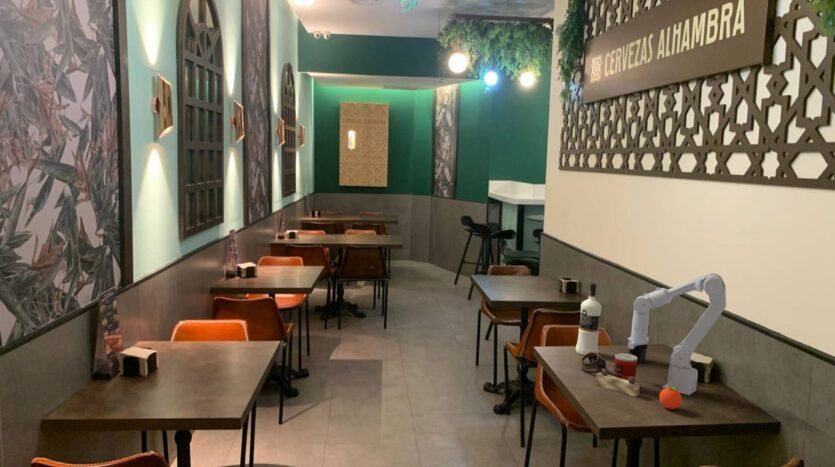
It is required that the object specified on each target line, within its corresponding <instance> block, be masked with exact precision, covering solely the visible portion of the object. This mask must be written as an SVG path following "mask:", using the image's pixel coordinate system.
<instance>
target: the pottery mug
mask: <svg viewBox="0 0 835 467" xmlns="http://www.w3.org/2000/svg"><path fill="white" fill-rule="evenodd" d="M586 359H588V361H589V362H586V361H585V360H586ZM580 369H581V371H583V370H588V371H589V370H593V369H595V370H599V369H600V370H602V369H607V370H608V368H607V363H606V361H605V359H604V358H603V357H602V356H601V355H600V354H599V352H598V353H595V352H590V353H587V354H585V355H582V357H581V364H580Z"/></svg>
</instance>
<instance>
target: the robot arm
mask: <svg viewBox="0 0 835 467" xmlns="http://www.w3.org/2000/svg"><path fill="white" fill-rule="evenodd" d="M693 291H696V292H700V293H703V291H704V292H705V293H706V295H707V296H708V299H709V303H710V304H709V305H708V307H707V308H706V309H705V310H704V312H703V314H702V315H700V317H699V319H698V320H697V321H696V323H695V324H694V326H692V328H691V330H690V331H689V333H688V334H687V335H686V337H684V339H683V340H682V341H681V342H680V343H679V344H676V345H675V346H674V347H673V349H672V353H671V356H670V361H669V367H668V373H667V374H668V376H667V381H666V382H667V383H666V384H665V385H663V386H662V389H665V388H672V387H673V388H677V389H678V392H679V393H680V394H683V395H687V396H691V394H694V393H695V392H696V391H697V383H698V374H699V372H698V369H696V368H693V366H692V364H691V358H692V355H693V353H694V352H695V351H696V349H697V347H698V346H699V344H700V343H701V342H702V340H703V339H704V337H705V336H706V335H707V333H708V332H709V331H710V329H711V328H712V327H713V325H714V324H715V322H716V321H717V320H718V319H719V317H720V316H721V314H722V313H723V312H724V310H725V309H726V307H727V292H726V284H725V281H724V279H723V277H722V276H721V275H720V274H718V273H714V272H713V273H709V274H706V275H700V276H698V277H695V278H693V279H690V280H688V281H685V282H683V283H680V284H678V285H676V286H674V287H671V288H666V287H662V288H661V287H660V286H659V287H657V288H656V289H655V290H654V291H651V292H649V293H647V292H646V293H644V294H643V295H639V296H638V297H636V299H635V300H634V301H633V305H632V306H633V307H632V308H633V315H632V321H631V327H632V331H631V330H630V336H631V337H630V336H628V337H627V341H628V343H627V349H628V350H629V349H630V351H631V354H632V355H634V356H636V357H637V366H639V365H641V363H642V362H641V360H642V357H643V354H644V352H645V351H646V349H648V343H649V341H650V337H649V333H648V325H649V323H650V317H649V316H650V309H653V310H654V309H656V308H659V307H663V306H664V305H667V304H670V303H671V301H672V300H673V298H675V297H679V296H681V295H685V294H687V293H690V292H693ZM649 326H650V325H649ZM647 335H648V337H647ZM644 344H647V346H646V345H644ZM646 352H647V351H646ZM677 389H676V390H677Z"/></svg>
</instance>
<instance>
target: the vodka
mask: <svg viewBox="0 0 835 467" xmlns="http://www.w3.org/2000/svg"><path fill="white" fill-rule="evenodd" d="M588 293H589V294H588V298H587V299H585V300H583V301H582V302H581V304H580V317H579V318H580V319H579V326H578V327H579V328H578V336H577V342H576V345H575V351H576V353H577V354H579V355H581V356H584V355H585V354H587V353H590V352H595V353H598V354H599V334H600V331H599V330H600V320H601V315H602V304H601V303H600V302H599V301H598V300H596V296H597V295H596V294H597V284H596V283H594V282H592V283H590V284H589V292H588Z"/></svg>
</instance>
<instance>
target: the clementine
mask: <svg viewBox="0 0 835 467" xmlns="http://www.w3.org/2000/svg"><path fill="white" fill-rule="evenodd" d="M676 389H677V388H673V387H672V388H663V389H662V390H661V392H659V396H658V397H659V402H660V403H661V405H662V406H663V407H664V408H666V409H669V410H674V409H678V408H679V407H680V406H681V404H682V401H683V397H682V393H680V392H678V389H677V390H676Z"/></svg>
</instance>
